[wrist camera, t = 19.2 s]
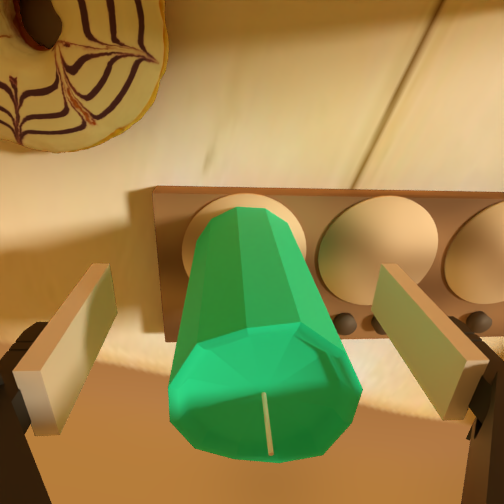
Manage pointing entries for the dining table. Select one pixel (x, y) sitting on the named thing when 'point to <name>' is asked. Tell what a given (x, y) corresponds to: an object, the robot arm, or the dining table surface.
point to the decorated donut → (80, 73)
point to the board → (355, 247)
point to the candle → (258, 348)
